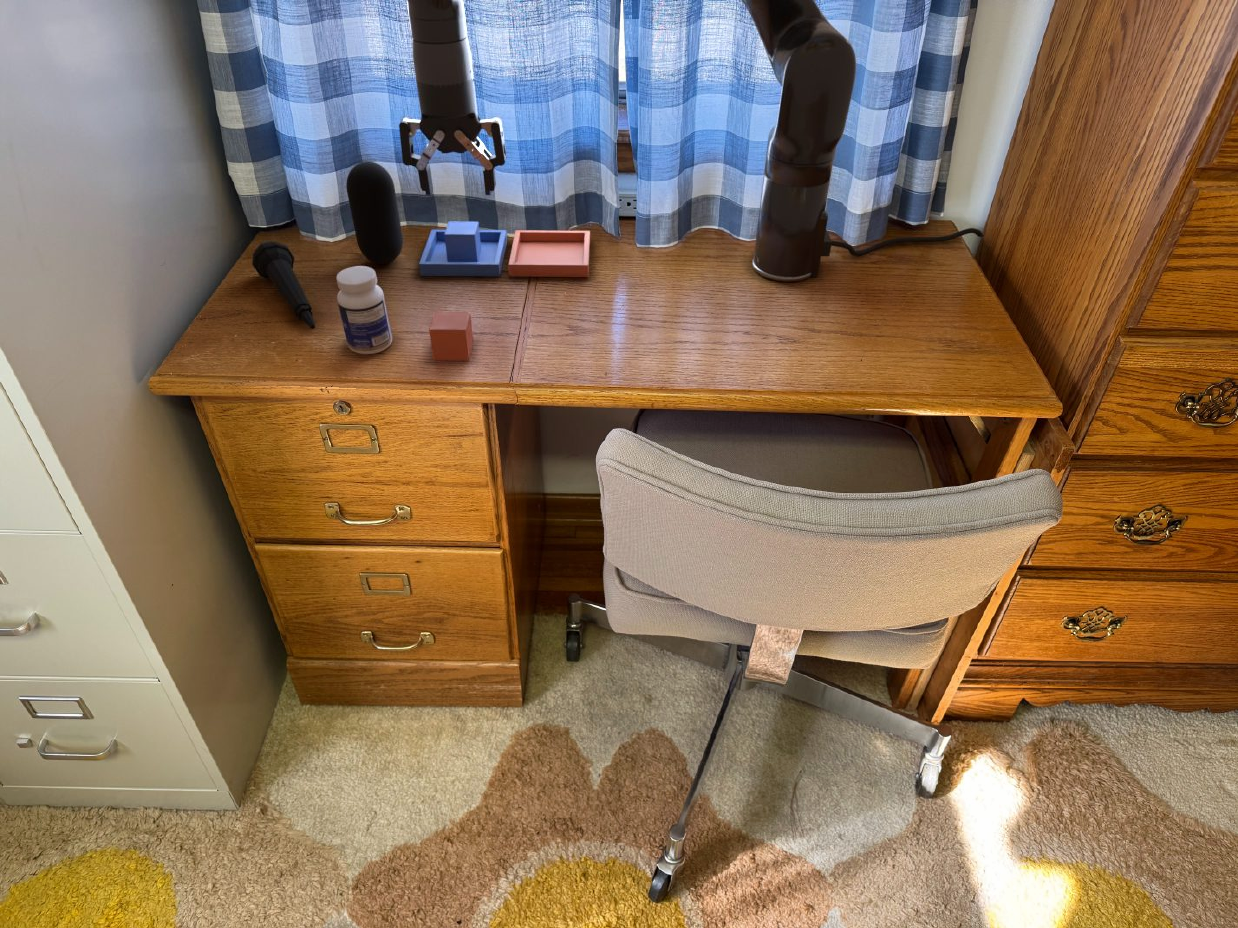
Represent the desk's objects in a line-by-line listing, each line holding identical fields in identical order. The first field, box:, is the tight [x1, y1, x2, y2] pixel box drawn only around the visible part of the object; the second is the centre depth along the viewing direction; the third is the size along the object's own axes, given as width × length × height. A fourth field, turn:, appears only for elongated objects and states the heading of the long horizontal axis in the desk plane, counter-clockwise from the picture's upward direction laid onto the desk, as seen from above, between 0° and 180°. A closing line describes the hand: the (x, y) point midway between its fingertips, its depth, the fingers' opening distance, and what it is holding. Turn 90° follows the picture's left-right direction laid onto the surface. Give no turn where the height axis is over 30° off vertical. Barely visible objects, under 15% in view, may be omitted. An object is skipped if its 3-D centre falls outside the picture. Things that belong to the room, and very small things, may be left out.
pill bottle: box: [336, 265, 393, 355], centre depth 107 cm, size 6×6×10 cm
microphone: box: [251, 240, 316, 330], centre depth 118 cm, size 6×6×20 cm
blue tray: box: [418, 229, 508, 277], centre depth 128 cm, size 12×12×2 cm
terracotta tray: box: [507, 229, 591, 278], centre depth 128 cm, size 12×12×2 cm
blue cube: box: [444, 220, 481, 262], centre depth 127 cm, size 4×4×4 cm
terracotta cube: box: [428, 310, 474, 361], centre depth 108 cm, size 4×4×4 cm
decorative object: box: [345, 161, 404, 265], centre depth 123 cm, size 7×7×15 cm
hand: (459, 193), depth 123 cm, fingers open, 8 cm apart
